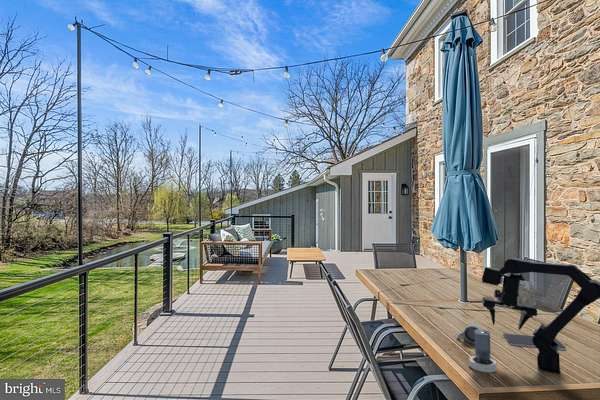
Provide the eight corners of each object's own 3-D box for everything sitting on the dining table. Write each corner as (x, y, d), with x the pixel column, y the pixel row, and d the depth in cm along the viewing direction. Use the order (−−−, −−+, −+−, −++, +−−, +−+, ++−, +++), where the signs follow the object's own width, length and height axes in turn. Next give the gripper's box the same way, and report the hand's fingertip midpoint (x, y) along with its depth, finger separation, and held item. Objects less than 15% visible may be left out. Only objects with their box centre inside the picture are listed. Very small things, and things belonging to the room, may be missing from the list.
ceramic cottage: (526, 299, 236) (524, 277, 236) (541, 307, 220) (539, 283, 220) (502, 301, 237) (500, 278, 237) (515, 308, 221) (514, 284, 221)
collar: (497, 365, 137) (497, 359, 137) (494, 374, 129) (494, 368, 129) (471, 360, 142) (471, 354, 142) (467, 368, 134) (467, 362, 135)
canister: (488, 363, 138) (488, 330, 138) (492, 369, 132) (492, 334, 133) (473, 362, 139) (473, 329, 139) (477, 368, 134) (476, 333, 134)
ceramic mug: (482, 339, 165) (482, 322, 165) (482, 345, 158) (482, 327, 158) (457, 336, 170) (457, 319, 170) (456, 341, 163) (456, 324, 163)
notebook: (555, 341, 163) (503, 336, 170) (555, 337, 163) (503, 333, 170) (566, 351, 151) (510, 346, 158) (566, 348, 151) (510, 342, 158)
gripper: (531, 288, 147) (527, 325, 147) (482, 280, 153) (477, 315, 154) (539, 295, 136) (535, 335, 137) (486, 286, 143) (481, 324, 143)
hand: (506, 326), depth 143 cm, fingers open, 9 cm apart
